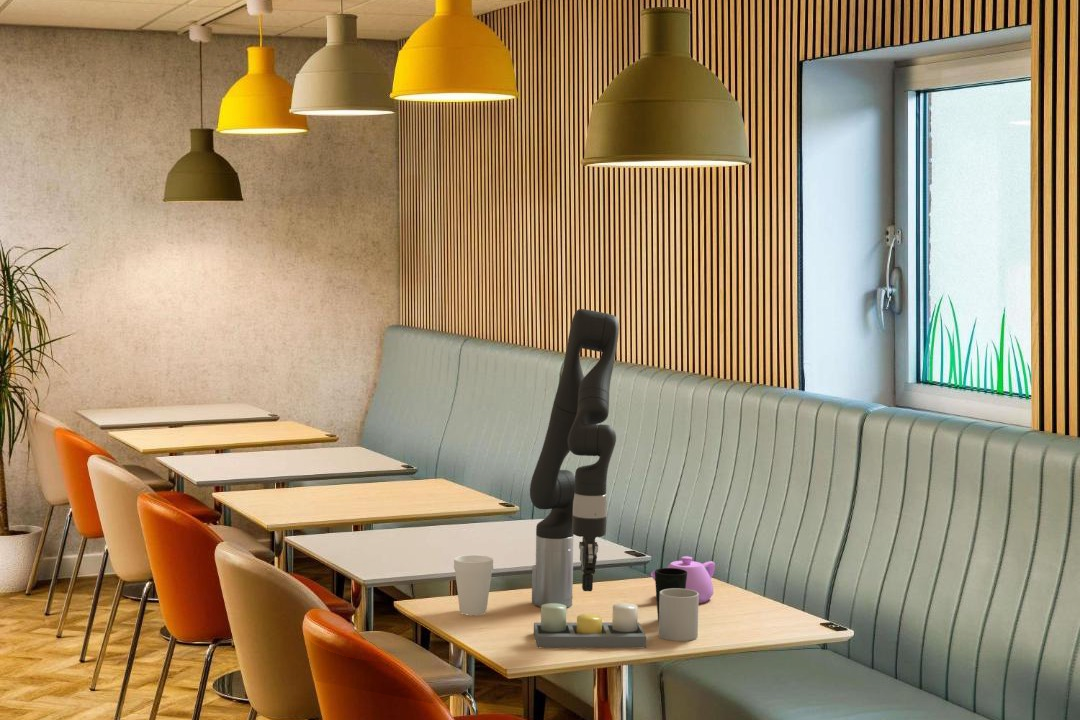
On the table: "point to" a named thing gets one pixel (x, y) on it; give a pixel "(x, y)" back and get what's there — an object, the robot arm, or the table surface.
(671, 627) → the mug
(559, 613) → the sage button
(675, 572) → the cup
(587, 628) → the mustard button
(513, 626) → the table surface
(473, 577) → the foam cup
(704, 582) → the teapot
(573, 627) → the grey compartment tray
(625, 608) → the offwhite button
